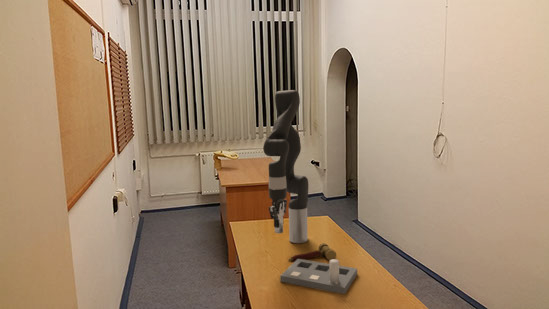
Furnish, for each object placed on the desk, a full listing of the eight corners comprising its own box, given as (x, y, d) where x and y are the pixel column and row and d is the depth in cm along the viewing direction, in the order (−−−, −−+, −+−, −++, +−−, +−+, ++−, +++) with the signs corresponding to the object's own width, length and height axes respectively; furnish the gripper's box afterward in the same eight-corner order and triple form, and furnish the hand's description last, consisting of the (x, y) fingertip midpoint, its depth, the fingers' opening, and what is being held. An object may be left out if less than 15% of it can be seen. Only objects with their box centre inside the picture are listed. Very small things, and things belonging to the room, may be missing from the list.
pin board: (298, 264, 176) (297, 241, 175) (357, 274, 165) (357, 249, 163) (280, 281, 160) (279, 256, 159) (344, 294, 149) (344, 267, 147)
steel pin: (277, 230, 176) (276, 207, 174) (284, 231, 174) (283, 208, 173) (273, 232, 173) (272, 210, 171) (281, 233, 171) (280, 210, 170)
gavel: (291, 259, 174) (284, 250, 184) (292, 269, 175) (285, 260, 185) (336, 249, 180) (327, 242, 189) (336, 259, 181) (327, 251, 190)
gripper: (276, 182, 178) (277, 220, 181) (261, 189, 166) (263, 230, 168) (292, 183, 175) (293, 221, 178) (278, 191, 163) (279, 232, 165)
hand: (278, 225), depth 173 cm, fingers closed on steel pin, 3 cm apart
